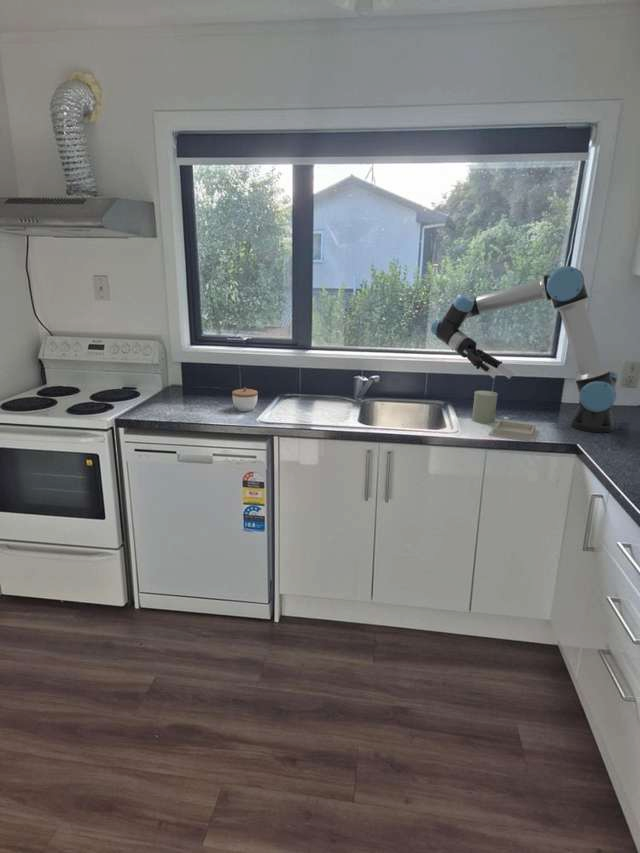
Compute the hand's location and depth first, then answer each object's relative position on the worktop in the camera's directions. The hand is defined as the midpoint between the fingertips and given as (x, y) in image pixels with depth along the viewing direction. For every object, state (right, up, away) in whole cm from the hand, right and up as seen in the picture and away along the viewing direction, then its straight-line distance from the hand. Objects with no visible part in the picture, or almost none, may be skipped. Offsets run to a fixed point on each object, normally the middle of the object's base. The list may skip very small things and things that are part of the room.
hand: (503, 375), depth 204 cm
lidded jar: (-102, -12, +26) cm, 105 cm away
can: (-2, -17, +18) cm, 25 cm away
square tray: (+5, -22, +2) cm, 22 cm away
